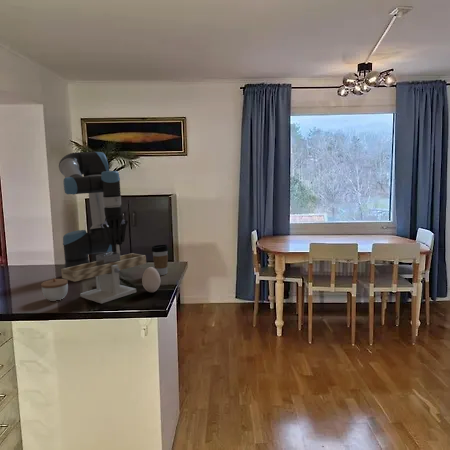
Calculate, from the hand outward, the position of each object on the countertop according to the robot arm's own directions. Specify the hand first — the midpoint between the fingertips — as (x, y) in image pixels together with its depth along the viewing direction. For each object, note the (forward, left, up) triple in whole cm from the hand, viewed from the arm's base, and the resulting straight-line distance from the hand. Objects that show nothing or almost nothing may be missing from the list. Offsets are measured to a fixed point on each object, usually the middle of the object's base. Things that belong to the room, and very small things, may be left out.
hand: (117, 258), depth 185 cm
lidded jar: (-14, -23, -15) cm, 31 cm away
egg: (+14, +7, -15) cm, 22 cm away
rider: (0, -5, -2) cm, 5 cm away
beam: (0, -6, -3) cm, 7 cm away
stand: (0, -6, -15) cm, 16 cm away
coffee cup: (-6, +30, -15) cm, 34 cm away
